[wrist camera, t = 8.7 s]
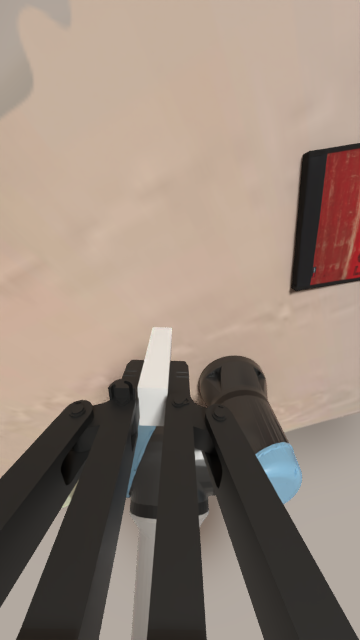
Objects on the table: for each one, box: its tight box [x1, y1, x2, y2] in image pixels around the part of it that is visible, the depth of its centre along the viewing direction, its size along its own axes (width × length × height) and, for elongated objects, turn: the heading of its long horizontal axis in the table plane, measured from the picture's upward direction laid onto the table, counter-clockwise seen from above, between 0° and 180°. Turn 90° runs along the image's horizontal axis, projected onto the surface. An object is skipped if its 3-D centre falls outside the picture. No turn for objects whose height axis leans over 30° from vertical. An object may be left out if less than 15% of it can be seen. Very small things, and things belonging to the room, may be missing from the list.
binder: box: [291, 143, 360, 291], centre depth 34 cm, size 16×2×21 cm
